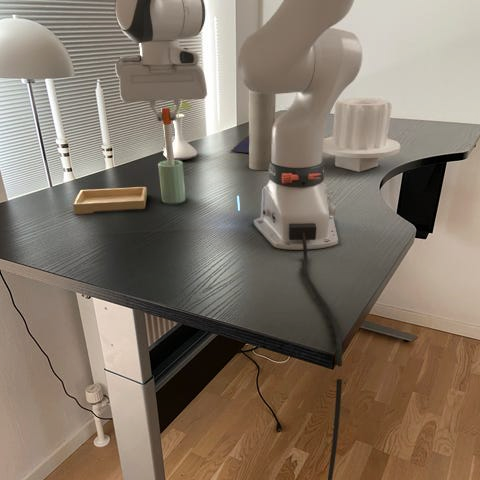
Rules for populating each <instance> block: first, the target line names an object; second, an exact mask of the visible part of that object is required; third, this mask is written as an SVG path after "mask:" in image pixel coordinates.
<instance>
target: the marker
mask: <svg viewBox="0 0 480 480" xmlns="http://www.w3.org/2000/svg"><path fill="white" fill-rule="evenodd" d="M160 110H161V112H162V120H163V121H162V126H163V127H162V128H163V135H164V146H165V150H166V156H167V158H166V160H167V166H173V165H174V154H173V135H172V134H173V133H172V121H171V120H170V112H171V107H161V108H160Z"/></svg>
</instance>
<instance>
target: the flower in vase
mask: <svg viewBox="0 0 480 480" xmlns="http://www.w3.org/2000/svg"><path fill="white" fill-rule="evenodd" d="M183 101H184V100H180V106H179V108H178V110H177V112H178V113H176V118H177V121H172V123H173V126H174V134H175V135H174V140H173V141H172V143H173V154H174V160H178V161H185V160H186V161H187V160H190V159H192V158H195V157H196V156H197V154H198V152H197V149H196V148H194V146H193V145H191V144H190V143H188V142H187V141H186V140H185V138H184V137H183V122H184V121H183V120H184V118H185V117H186V116H185V115H186V114H182V113H180V112H181V110H182V109H184V110H185V111H189V110H190V109H192V105H191V104H190V103H189V102H193V103H194V101H195V99H188V100H187V101H188V102H187V101H184V102H183ZM175 106H176V105H174V104H171V107H170V109H171V110H173V111H174V109H175ZM163 156H164V157H165V158H166V159H167V156H166V149H164V151H163Z"/></svg>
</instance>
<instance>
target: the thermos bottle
mask: <svg viewBox="0 0 480 480" xmlns="http://www.w3.org/2000/svg"><path fill="white" fill-rule="evenodd" d="M248 90H249V89H248ZM276 95H277V94H267V93H260V92H255V91H251V90H249V91H248V136H249V153H248V168H249V169H250V170H254V171H269V162H270V161H271V151H272V127H273V124H274V122H275V120H276V98H277V97H276Z"/></svg>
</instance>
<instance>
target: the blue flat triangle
mask: <svg viewBox="0 0 480 480" xmlns="http://www.w3.org/2000/svg"><path fill="white" fill-rule="evenodd" d="M230 152H234V153H235V152H236V153H245V154H246V153H247V154H249V135H248V136H246V137H245V138H244V139H242V140H241V141H240V142H239V143H237V144H236V145H235V146H234V147H233V148H232V149H231V150H230Z"/></svg>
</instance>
